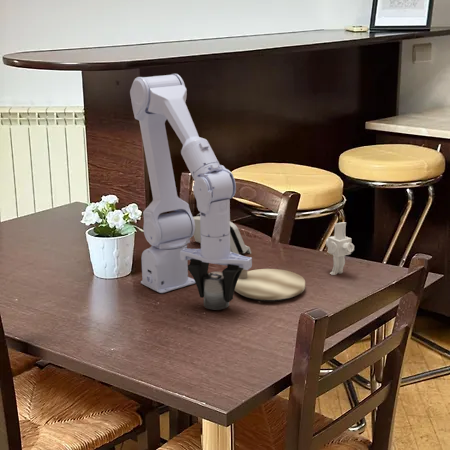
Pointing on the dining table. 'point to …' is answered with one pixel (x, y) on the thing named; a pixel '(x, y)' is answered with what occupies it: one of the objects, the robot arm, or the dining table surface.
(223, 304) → the grey short cylinder
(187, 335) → the dining table surface
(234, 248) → the grey piece
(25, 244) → the dining table surface
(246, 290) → the turntable
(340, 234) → the toy robot
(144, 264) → the robot arm
